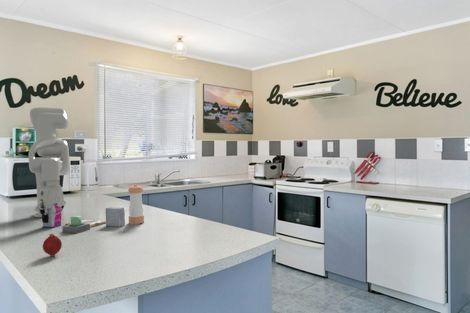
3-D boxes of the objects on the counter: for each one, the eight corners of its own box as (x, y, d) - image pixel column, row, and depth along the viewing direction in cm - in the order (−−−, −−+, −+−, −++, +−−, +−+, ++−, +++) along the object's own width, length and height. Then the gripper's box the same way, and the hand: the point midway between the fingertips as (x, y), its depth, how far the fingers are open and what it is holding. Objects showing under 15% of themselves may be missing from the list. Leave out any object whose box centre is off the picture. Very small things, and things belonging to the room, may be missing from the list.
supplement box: (53, 228, 160) (52, 203, 160) (42, 227, 161) (41, 203, 161) (61, 225, 166) (61, 201, 166) (51, 224, 167) (50, 201, 167)
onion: (47, 253, 121) (47, 231, 121) (64, 253, 122) (64, 230, 122) (39, 259, 116) (39, 235, 115) (57, 258, 116) (56, 235, 116)
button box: (62, 231, 153) (62, 226, 153) (77, 227, 160) (76, 222, 160) (75, 233, 150) (75, 227, 150) (89, 229, 157) (89, 223, 157)
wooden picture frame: (65, 225, 166) (65, 222, 166) (83, 220, 176) (83, 218, 176) (90, 227, 160) (89, 225, 160) (107, 222, 170) (107, 220, 170)
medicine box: (125, 225, 165) (124, 207, 164) (119, 227, 160) (118, 208, 160) (111, 224, 167) (111, 206, 167) (105, 226, 163) (105, 208, 163)
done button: (68, 228, 154) (68, 217, 153) (76, 226, 158) (76, 215, 158) (75, 229, 152) (75, 218, 152) (83, 226, 156) (83, 216, 156)
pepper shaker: (128, 225, 164) (127, 185, 164) (129, 221, 171) (128, 183, 171) (144, 223, 166) (143, 184, 166) (143, 220, 173) (143, 183, 173)
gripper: (39, 186, 154) (41, 225, 154) (71, 182, 170) (72, 218, 170) (28, 185, 157) (29, 224, 157) (60, 181, 172) (61, 217, 173)
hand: (52, 220), depth 164 cm, fingers closed on supplement box, 6 cm apart
